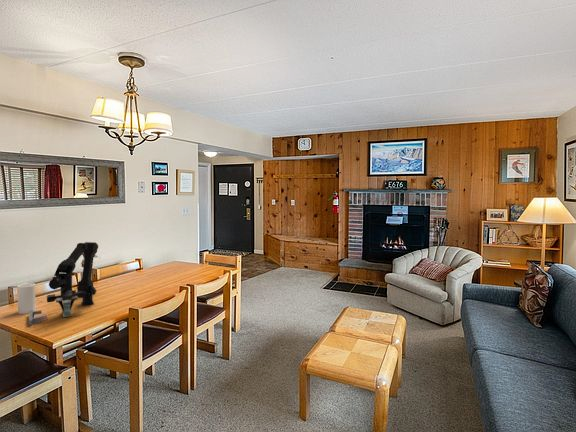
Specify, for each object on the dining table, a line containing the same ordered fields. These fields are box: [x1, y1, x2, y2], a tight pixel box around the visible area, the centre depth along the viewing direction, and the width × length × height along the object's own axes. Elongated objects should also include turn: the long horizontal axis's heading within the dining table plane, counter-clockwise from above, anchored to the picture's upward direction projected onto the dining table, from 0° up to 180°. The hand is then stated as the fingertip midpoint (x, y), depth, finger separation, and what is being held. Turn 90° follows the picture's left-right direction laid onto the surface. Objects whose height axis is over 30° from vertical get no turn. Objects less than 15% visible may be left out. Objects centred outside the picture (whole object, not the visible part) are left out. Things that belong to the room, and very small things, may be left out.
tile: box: [33, 312, 48, 322], centre depth 192 cm, size 6×6×2 cm
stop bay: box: [28, 309, 42, 327], centre depth 190 cm, size 18×6×3 cm, turn 36°
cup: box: [16, 282, 36, 315], centre depth 202 cm, size 8×8×16 cm
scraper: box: [61, 300, 72, 318], centre depth 199 cm, size 12×3×6 cm, turn 36°
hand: (66, 310), depth 199 cm, fingers closed on scraper, 3 cm apart
